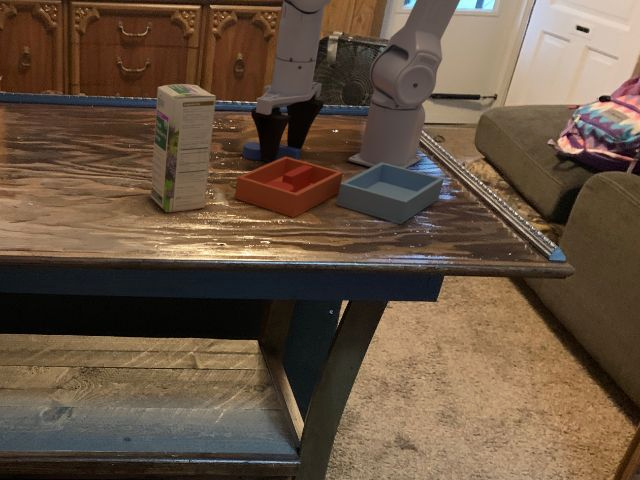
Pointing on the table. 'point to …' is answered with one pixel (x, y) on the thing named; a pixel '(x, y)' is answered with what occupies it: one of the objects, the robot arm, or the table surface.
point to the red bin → (283, 201)
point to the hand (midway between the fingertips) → (281, 153)
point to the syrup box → (182, 146)
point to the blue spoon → (253, 152)
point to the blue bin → (389, 192)
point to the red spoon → (294, 179)
